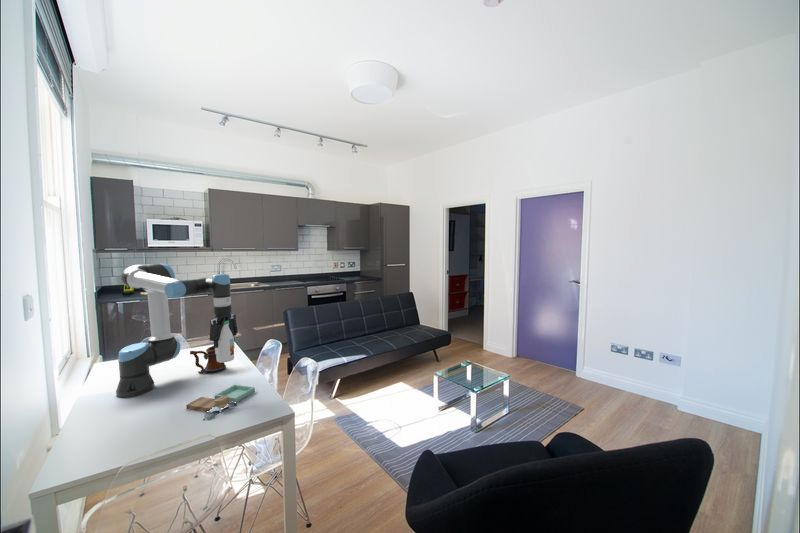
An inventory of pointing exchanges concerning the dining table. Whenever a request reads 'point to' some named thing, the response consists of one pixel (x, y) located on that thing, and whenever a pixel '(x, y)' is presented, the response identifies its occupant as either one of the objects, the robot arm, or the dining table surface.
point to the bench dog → (222, 401)
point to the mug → (209, 361)
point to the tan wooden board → (201, 404)
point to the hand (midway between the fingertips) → (225, 351)
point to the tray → (236, 392)
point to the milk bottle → (226, 344)
